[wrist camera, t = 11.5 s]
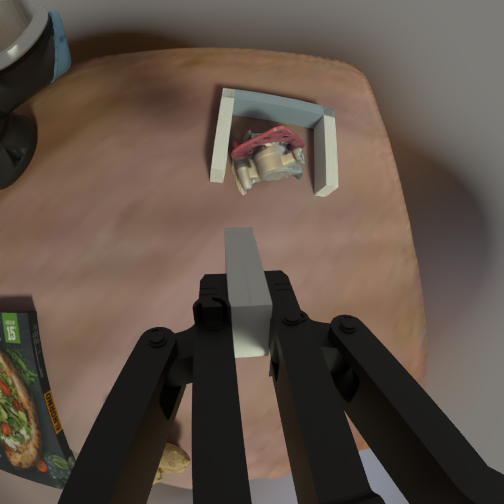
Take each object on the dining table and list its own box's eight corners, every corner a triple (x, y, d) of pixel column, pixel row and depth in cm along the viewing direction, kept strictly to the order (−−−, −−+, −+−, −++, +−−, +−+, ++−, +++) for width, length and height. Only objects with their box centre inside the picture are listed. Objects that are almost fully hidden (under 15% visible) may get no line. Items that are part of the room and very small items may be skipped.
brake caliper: (287, 117, 44) (322, 124, 34) (290, 177, 50) (322, 199, 40) (221, 123, 42) (238, 131, 32) (228, 186, 48) (246, 212, 38)
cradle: (325, 196, 46) (338, 187, 41) (209, 181, 43) (211, 168, 38) (323, 122, 48) (333, 108, 43) (220, 105, 45) (223, 87, 40)
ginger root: (156, 391, 37) (153, 425, 29) (204, 453, 40) (210, 486, 32) (79, 415, 34) (67, 446, 26) (132, 472, 37) (129, 503, 29)
